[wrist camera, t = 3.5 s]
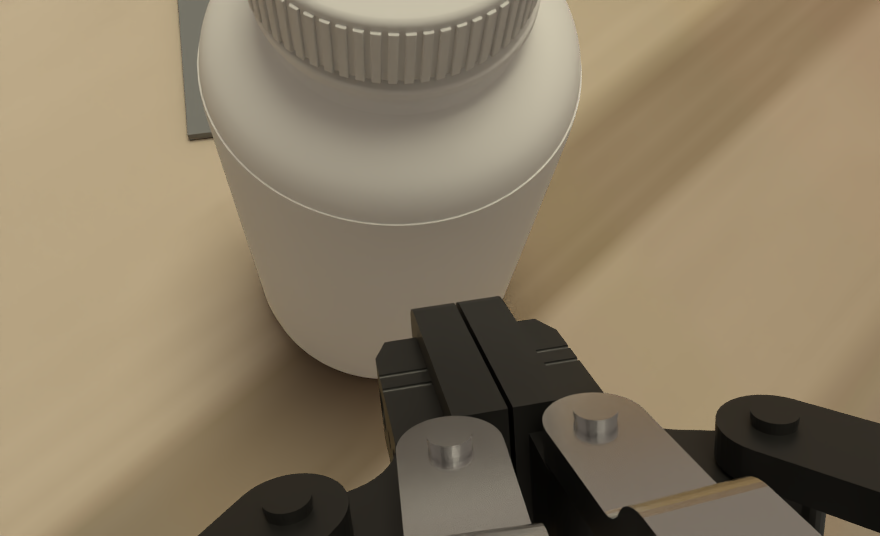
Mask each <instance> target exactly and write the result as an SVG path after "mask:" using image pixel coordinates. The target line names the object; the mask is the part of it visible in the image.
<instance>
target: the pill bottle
mask: <svg viewBox="0 0 880 536" xmlns="http://www.w3.org/2000/svg"><path fill="white" fill-rule="evenodd" d="M197 72H198V82H199V88H200V94H201V98H202V103H203V106H204V110H205V114H206V117H207V120H208V123H209V126H210V129H211V132H212V136H213V139H214V142H215V145H216V148H217V151H218V154H219V157H220V160H221V163H222V166H223V169H224V172H225V175H226V178H227V181H228V184H229V187H230V190H231V193H232V196H233V199H234V202H235V205H236V208H237V212H238V215H239V218H240V221H241V224H242V227H243V230H244V233H245V236H246V239H247V242H248V245H249V248H250V251H251V254H252V257H253V260H254V263H255V266H256V269H257V272H258V275H259V278H260V281H261V284H262V287H263V291H264V294H265V296H266V299H267V302H268V304H269V306H270V308H271V310H272V312H273V314H274V315H275V317H276V319H277V320H278V322H279V323H280V324H281V326H282V327H283V329H284V330H285V331H286V333H287V334H288V335H289V336H290V337H291V339H292V340H293V341H294V342H295V343H296V344H297V345H298V346H299V347H301V348H302V349H303V350H304V351H305V352H307V353H308V354H309V355H311V356H312V357H314V358H315V359H317V360H318V361H320V362H322V363H323V364H325V365H327V366H329V367H332V368H334V369H336V370H339V371H342V372H344V373H348V374H351V375H355V376H360V377H366V378H374V379H378V376H377V368H376V360H375V358H376V357H377V355H378V353H379V351H380V350H381V348H382V346H383V344H384V343H385V342H389V341H396V340H402V339H409V338H412V329H411V316H410V312H411V309H415V308H422V307H429V306H435V305H442V304H449V303H455V305H456V302H461V301H468V300H474V299H481V298H488V297H494V296H500V297H501V298H502V300H503V297H504V295H505V292H506V290H507V287H508V285H509V282H510V280H511V277H512V275H513V272H514V270H515V267H516V265H517V263H518V260H519V258H520V255H521V253H522V250H523V248H524V245H525V243H526V240H527V238H528V235H529V233H530V230H531V228H532V225H533V223H534V220H535V218H536V215H537V213H538V210H539V208H540V205H541V203H542V201H543V198H544V196H545V193H546V191H547V188H548V186H549V183H550V181H551V178H552V176H553V173H554V171H555V168H556V166H557V163H558V161H559V158H560V156H561V153H562V151H563V148H564V146H565V143H566V141H567V138H568V136H569V133H570V130H571V128H572V125H573V122H574V119H575V115H576V112H577V108H578V103H579V99H580V92H581V82H582V69H581V57H580V47H579V40H578V35H577V31H576V27H575V23H574V20H573V17H572V14H571V11H570V9H569V6H568V4H567V2H566V0H210V1H209V4H208V7H207V9H206V13H205V16H204V20H203V24H202V28H201V34H200V41H199V47H198V57H197Z"/></svg>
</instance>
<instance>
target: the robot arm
mask: <svg viewBox="0 0 880 536" xmlns="http://www.w3.org/2000/svg"><path fill="white" fill-rule="evenodd" d="M410 316H411V329H412V338H409V339H402V340H396V341H389V342H385V343H384V344H383V346H382V348H381V350H380V351H379V353H378V355H377V357H376V358H375V360H376V368H377V376H378V384H379V392H380V400H381V408H382V416H383V424H384V432H385V439H386V444H387V448H388V453H389V457H390V462H391V463H390V465H389V466H388V467H387V468H386V470H385V471H384V472H383V473H381V474H380V475H379V476H378V477H376V478H375V479H373V480H372V481H370V482H368V483H367V484H365V485H363V486H360V487H358V488H356V489H354V490H351V491H349V492H346V490H345V489H344V488H343V486H342V485H341V484H339V483H338V482H337V481H335V480H333V479H331V478H329V477H326V476H323V475H318V474H308V473H303V474H291V475H285V476H281V477H277V478H274V479H271V480H269V481H266V482H264V483H262V484H260V485H258V486H256V487H254V488H253V489H251V490H250V491H248V492H247V493H246V494H245V495H243V496H242V497H241V498H240V499H239V500H238V501H236V502H235V503H234V504H233V505H232V506H231V507H230V508H229V509H227V510H226V511H225V512H224V513H223V514H222V515H221V516H220V517H218V518H217V519H216V520H215V521H214V522H213V523H212V524H211V525H209V526H208V527H207V528H206V529H205V530H204V531H203V532H202V533H200V534H199V535H198V536H824V527H825V518H826V514H829V515H832V516H835V517H837V518H840V519H843V520H846V521H848V522H851V523H854V524H857V525H859V526H862V527H865V528H868V529H871V530H873V531H876V532H879V533H880V424H879V423H876V422H872V421H869V420H865V419H862V418H858V417H855V416H851V415H847V414H844V413H840V412H837V411H833V410H830V409H826V408H823V407H819V406H816V405H812V404H808V403H805V402H801V401H798V400H794V399H790V398H786V397H780V396H773V395H750V396H744V397H739V398H736V399H733V400H730V401H728V402H727V403H725V404H724V405H722V406H721V407H720V408H719V410H718V411H717V414H716V422H715V431H705V430H672V429H663V428H662V427H661V426H660V425H659V424H658V423H657V422H656V421H655V420H654V419H653V418H652V417H651V416H650V415H649V414H648V413H647V412H646V411H645V410H644V409H643V408H642V407H641V406H640V405H639V404H637V403H635V402H634V401H632V400H629V399H627V398H624V397H621V396H618V395H613V394H608V393H603V391H602V390H601V389H600V387H599V386H598V385H597V383H596V382H595V381H594V379H593V378H592V377H591V375H590V374H589V373H588V371H587V370H586V369H585V367H584V366H583V365H582V363H581V362H580V361H579V360H578V361H577V357H576V355H575V354H574V353H573V351H572V350H571V349H570V348H568V345H567V343H566V342H565V341H564V339H563V338H562V337H561V335H560V334H559V333H558V331H557V330H556V329H554V328H552V327H550V326H548V325H546V324H544V323H542V322H540V321H538V320H536V319H530V320H524V321H516V320H515V318H514V317H513V315H512V314H511V312H510V310H509V309H508V307H507V306H506V304H505V303H504V301H503V300H502V298H501V297H500V296H494V297H488V298H481V299H474V300H468V301H461V302H456V305H455V303H449V304H442V305H435V306H429V307H422V308H415V309H411V312H410Z"/></svg>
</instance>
